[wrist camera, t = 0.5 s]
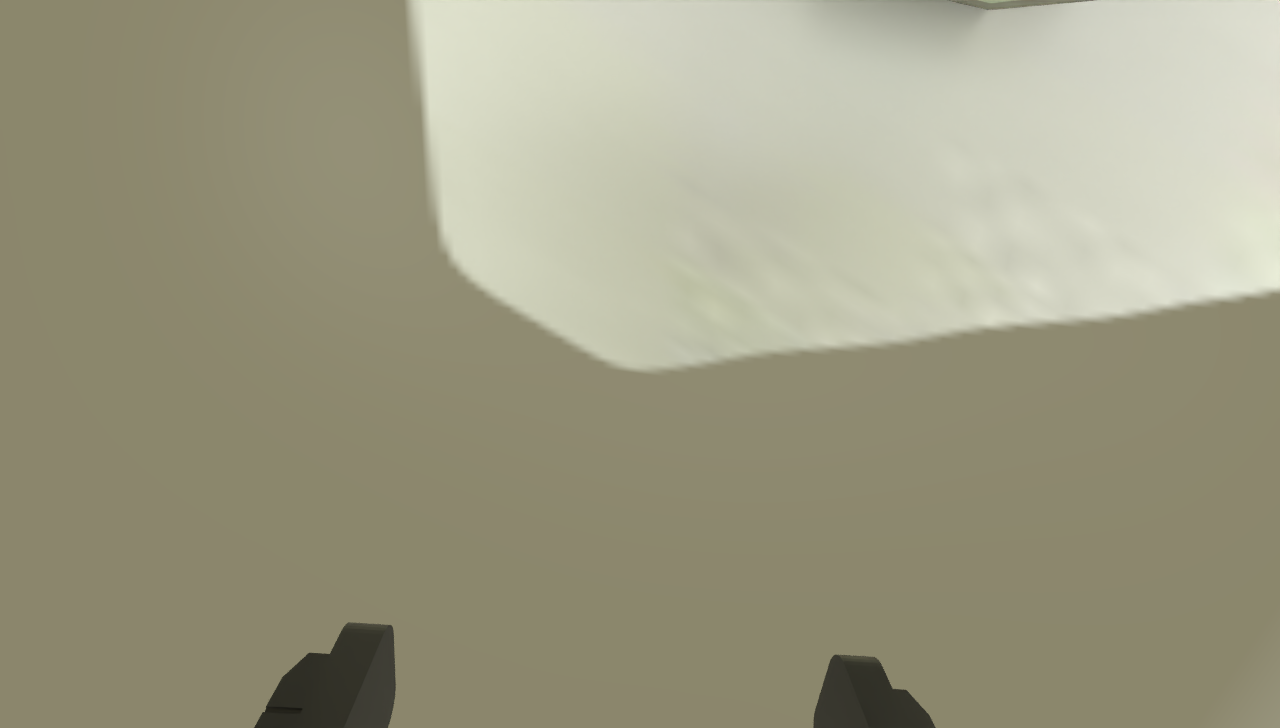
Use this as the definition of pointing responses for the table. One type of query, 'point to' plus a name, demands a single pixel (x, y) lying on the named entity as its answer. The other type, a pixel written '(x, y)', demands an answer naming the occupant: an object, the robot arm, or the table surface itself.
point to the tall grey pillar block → (1011, 3)
